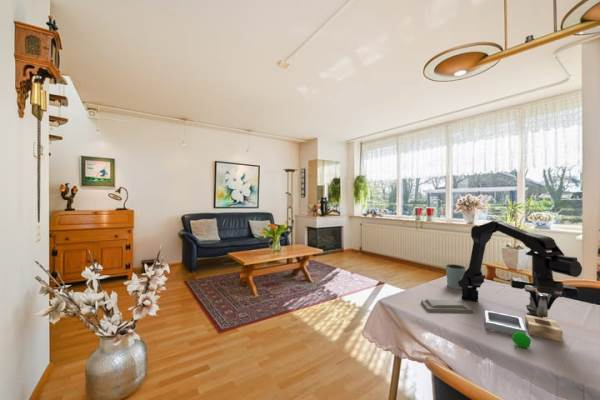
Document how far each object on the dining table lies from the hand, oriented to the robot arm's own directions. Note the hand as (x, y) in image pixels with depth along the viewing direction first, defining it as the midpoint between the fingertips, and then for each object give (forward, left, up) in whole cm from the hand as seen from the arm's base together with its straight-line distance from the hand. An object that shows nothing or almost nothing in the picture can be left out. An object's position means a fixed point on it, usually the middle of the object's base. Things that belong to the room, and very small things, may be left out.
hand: (542, 308), depth 96 cm
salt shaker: (0, +16, -10) cm, 19 cm away
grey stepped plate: (-33, +4, -10) cm, 35 cm away
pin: (0, 0, -3) cm, 3 cm away
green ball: (-8, -16, -10) cm, 20 cm away
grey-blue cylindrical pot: (-31, +38, -10) cm, 50 cm away
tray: (-12, -3, -9) cm, 15 cm away
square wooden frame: (0, 0, -9) cm, 9 cm away
